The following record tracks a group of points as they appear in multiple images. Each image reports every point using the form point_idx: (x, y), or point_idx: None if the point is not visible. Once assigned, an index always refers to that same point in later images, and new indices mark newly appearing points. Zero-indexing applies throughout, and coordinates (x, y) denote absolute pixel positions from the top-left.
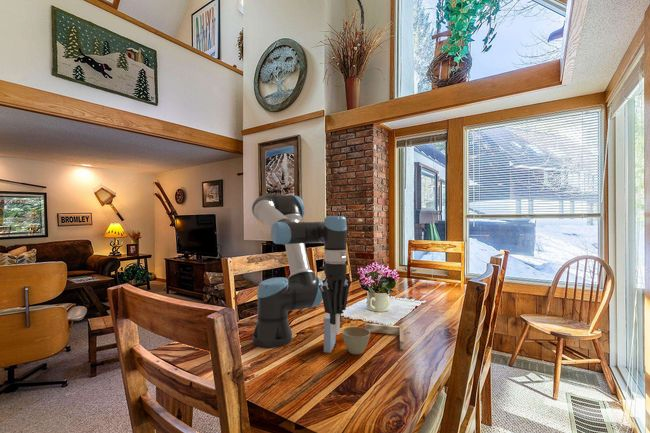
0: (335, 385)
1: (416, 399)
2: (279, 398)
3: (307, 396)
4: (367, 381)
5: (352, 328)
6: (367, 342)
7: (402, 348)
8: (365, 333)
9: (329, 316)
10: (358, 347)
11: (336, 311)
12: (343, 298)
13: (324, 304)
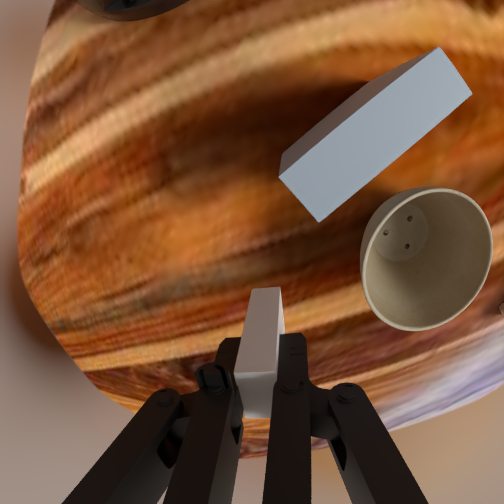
0: (190, 350)
1: None
2: (61, 308)
3: (113, 339)
4: None
5: (465, 200)
6: (428, 299)
7: (502, 314)
8: (475, 258)
9: (350, 165)
10: (383, 288)
11: (241, 437)
12: (356, 501)
13: (117, 450)
